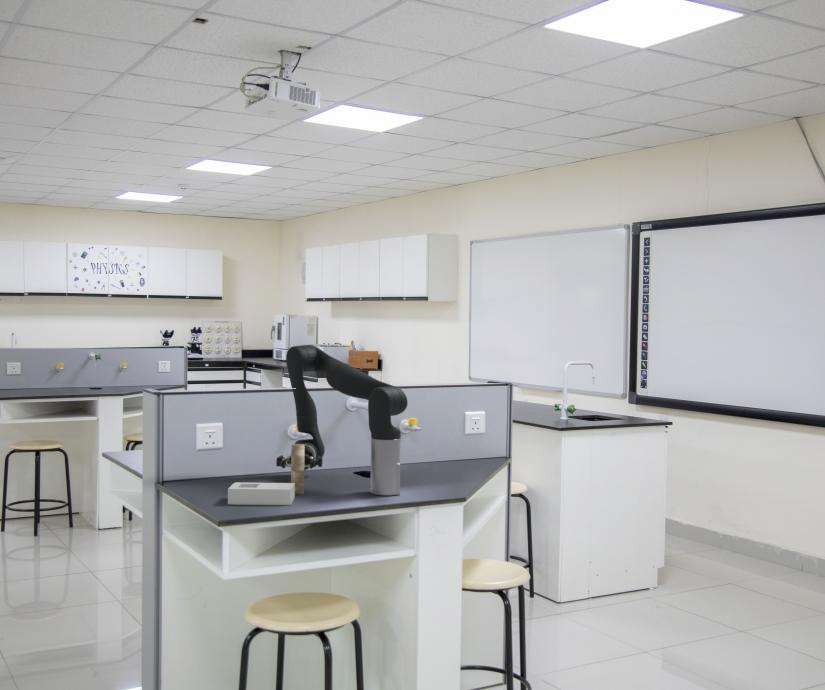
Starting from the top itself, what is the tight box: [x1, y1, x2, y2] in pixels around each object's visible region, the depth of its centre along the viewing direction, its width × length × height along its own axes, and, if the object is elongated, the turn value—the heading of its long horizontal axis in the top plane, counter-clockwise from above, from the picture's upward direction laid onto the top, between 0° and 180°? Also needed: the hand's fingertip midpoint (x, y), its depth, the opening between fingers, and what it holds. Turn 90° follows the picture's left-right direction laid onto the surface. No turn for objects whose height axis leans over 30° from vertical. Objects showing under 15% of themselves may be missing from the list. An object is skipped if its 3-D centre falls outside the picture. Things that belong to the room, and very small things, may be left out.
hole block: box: [227, 481, 295, 506], centre depth 248 cm, size 18×10×4 cm, turn 91°
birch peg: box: [290, 443, 305, 496], centre depth 260 cm, size 4×4×15 cm
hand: (297, 465), depth 259 cm, fingers open, 8 cm apart
